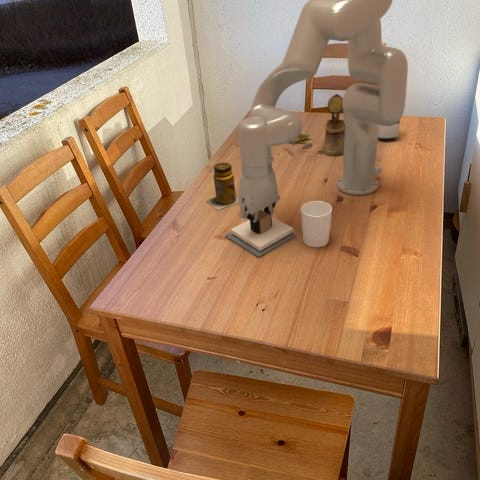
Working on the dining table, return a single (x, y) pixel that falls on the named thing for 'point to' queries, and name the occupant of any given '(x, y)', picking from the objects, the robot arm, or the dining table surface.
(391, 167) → the dining table surface
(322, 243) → the white cup
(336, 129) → the brass finial ornament
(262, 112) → the robot arm
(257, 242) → the lid
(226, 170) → the condiment
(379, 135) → the spread jar
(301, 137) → the green leafy plant
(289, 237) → the grey flat square slab
